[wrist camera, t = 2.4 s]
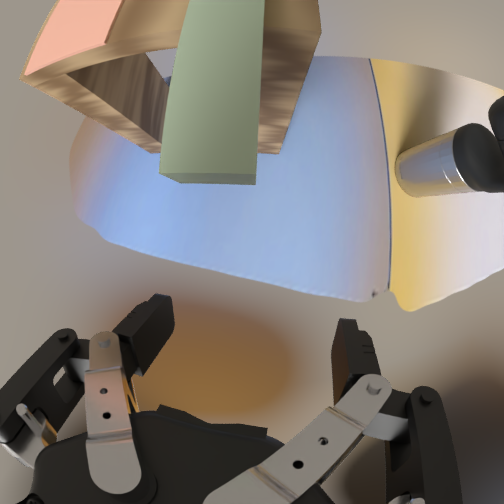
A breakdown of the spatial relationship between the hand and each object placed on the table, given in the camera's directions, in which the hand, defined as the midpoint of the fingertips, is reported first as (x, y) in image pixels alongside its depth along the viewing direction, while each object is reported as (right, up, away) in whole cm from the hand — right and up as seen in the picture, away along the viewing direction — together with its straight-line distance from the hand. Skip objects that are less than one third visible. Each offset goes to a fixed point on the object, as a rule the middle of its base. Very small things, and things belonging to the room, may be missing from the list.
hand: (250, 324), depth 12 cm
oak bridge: (-6, +25, +30) cm, 39 cm away
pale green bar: (-1, +16, -1) cm, 16 cm away
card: (-13, +21, -2) cm, 25 cm away
